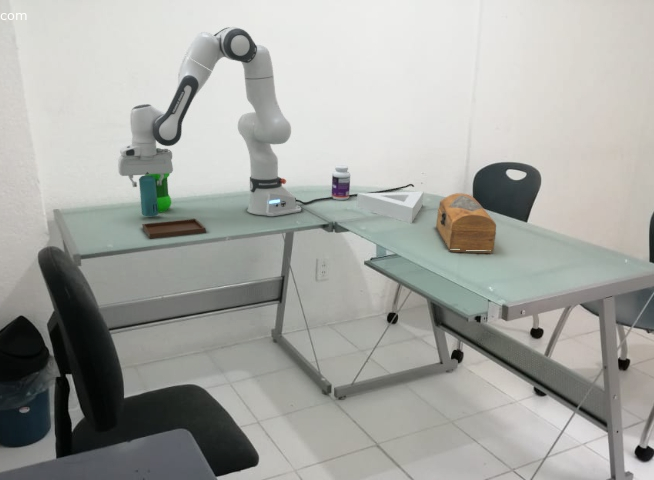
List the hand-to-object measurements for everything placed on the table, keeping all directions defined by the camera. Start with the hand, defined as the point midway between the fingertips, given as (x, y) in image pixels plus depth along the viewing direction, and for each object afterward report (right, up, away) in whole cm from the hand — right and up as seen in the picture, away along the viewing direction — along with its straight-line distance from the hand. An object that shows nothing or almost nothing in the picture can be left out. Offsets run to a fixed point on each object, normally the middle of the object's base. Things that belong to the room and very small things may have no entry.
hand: (147, 185), depth 233 cm
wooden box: (+118, -22, -13) cm, 121 cm away
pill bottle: (+77, +2, +41) cm, 87 cm away
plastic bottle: (+1, -7, +16) cm, 18 cm away
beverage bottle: (0, -12, +5) cm, 13 cm away
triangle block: (+103, -6, +24) cm, 106 cm away
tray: (+12, -18, -9) cm, 24 cm away
